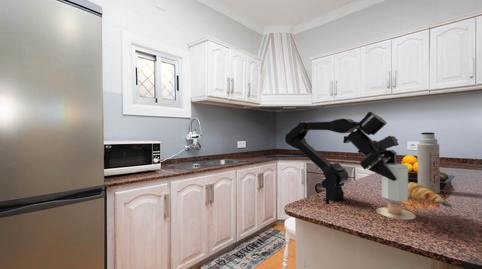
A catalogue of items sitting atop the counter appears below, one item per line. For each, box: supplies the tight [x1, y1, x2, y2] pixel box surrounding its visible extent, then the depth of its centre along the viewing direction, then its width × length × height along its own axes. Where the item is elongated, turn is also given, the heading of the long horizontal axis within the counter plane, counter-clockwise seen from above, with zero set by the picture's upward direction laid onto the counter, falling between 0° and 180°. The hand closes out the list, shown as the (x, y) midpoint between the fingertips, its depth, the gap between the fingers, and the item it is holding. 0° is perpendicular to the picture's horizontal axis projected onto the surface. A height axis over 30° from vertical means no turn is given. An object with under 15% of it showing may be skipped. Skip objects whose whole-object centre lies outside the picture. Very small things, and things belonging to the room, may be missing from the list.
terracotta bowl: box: [387, 200, 403, 215], centre depth 74 cm, size 4×4×4 cm
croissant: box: [408, 181, 445, 204], centre depth 95 cm, size 21×10×8 cm, turn 19°
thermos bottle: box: [416, 131, 441, 194], centre depth 106 cm, size 8×8×28 cm
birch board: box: [375, 206, 417, 220], centre depth 74 cm, size 11×11×1 cm
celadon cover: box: [381, 163, 409, 202], centre depth 74 cm, size 7×7×11 cm
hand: (399, 178), depth 73 cm, fingers closed on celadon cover, 7 cm apart
